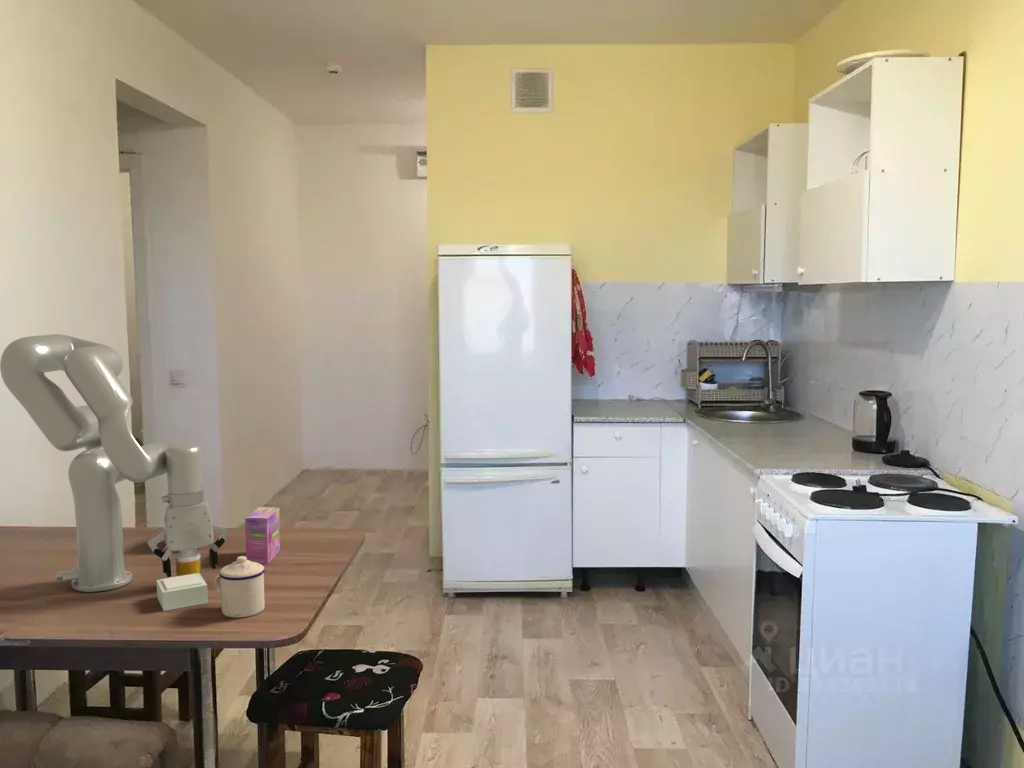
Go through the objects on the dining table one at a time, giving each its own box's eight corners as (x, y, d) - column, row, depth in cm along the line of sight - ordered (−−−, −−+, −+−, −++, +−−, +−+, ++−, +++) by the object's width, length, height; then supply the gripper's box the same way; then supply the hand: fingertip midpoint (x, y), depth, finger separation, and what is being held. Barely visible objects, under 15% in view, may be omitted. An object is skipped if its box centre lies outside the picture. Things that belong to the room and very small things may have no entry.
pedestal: (163, 610, 175) (162, 590, 175) (157, 597, 183) (156, 578, 182) (208, 602, 180) (207, 583, 179) (200, 590, 187) (199, 571, 187)
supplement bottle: (204, 587, 190) (202, 545, 189) (178, 591, 187) (177, 549, 186) (199, 580, 194) (197, 539, 193) (175, 584, 192) (173, 543, 190)
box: (268, 564, 206) (267, 517, 205) (245, 564, 206) (244, 517, 205) (281, 551, 216) (279, 507, 215) (259, 551, 216) (257, 506, 215)
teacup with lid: (275, 606, 178) (273, 553, 176) (244, 621, 170) (242, 566, 168) (232, 598, 183) (230, 546, 182) (200, 612, 175) (198, 558, 173)
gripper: (147, 507, 181) (152, 583, 183) (229, 496, 190) (233, 568, 191) (142, 500, 187) (148, 574, 189) (222, 490, 196) (226, 560, 198)
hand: (191, 571), depth 190 cm, fingers open, 9 cm apart
